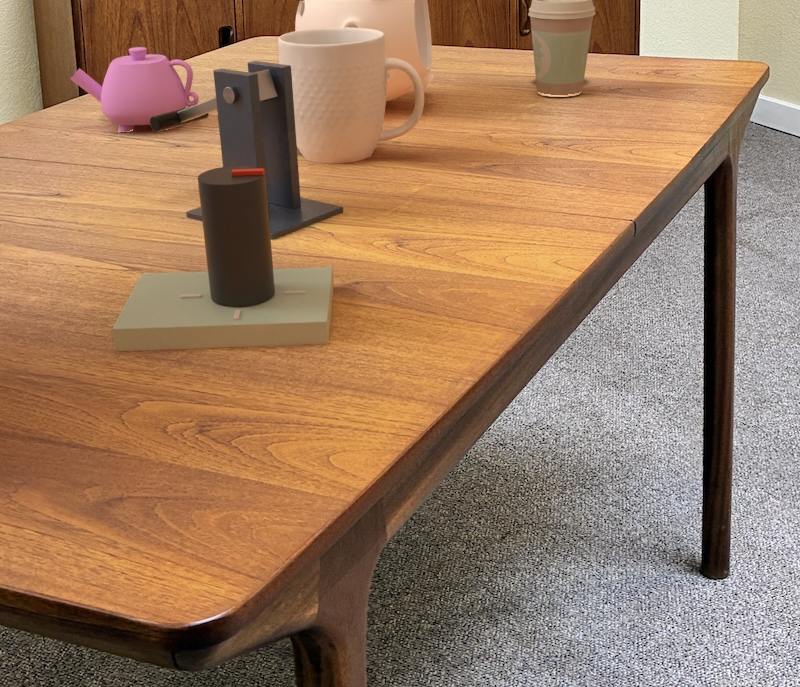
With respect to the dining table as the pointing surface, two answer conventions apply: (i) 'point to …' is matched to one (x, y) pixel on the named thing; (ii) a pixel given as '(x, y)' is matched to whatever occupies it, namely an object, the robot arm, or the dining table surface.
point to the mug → (342, 91)
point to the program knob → (237, 235)
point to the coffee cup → (560, 43)
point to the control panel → (224, 313)
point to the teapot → (139, 88)
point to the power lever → (208, 107)
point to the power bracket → (265, 144)
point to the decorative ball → (389, 13)
